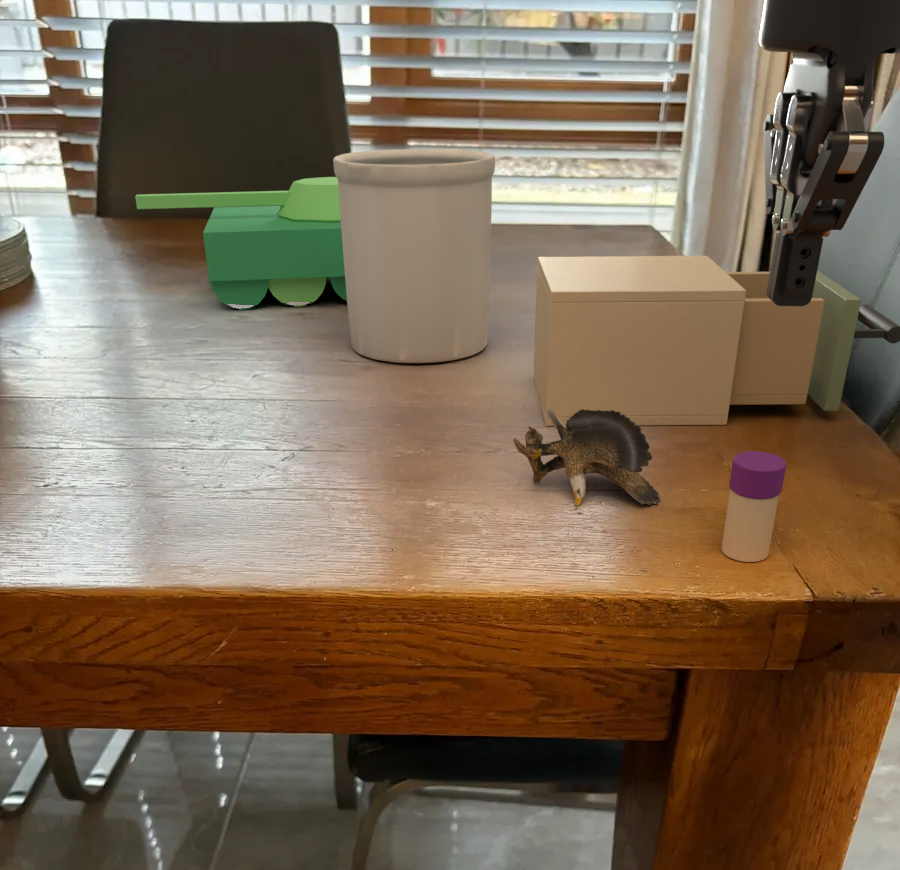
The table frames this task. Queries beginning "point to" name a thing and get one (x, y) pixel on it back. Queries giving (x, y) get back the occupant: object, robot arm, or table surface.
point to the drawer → (799, 343)
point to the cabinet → (636, 338)
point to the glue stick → (752, 505)
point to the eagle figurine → (594, 452)
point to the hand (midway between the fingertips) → (787, 302)
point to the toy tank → (269, 240)
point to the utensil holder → (416, 251)
